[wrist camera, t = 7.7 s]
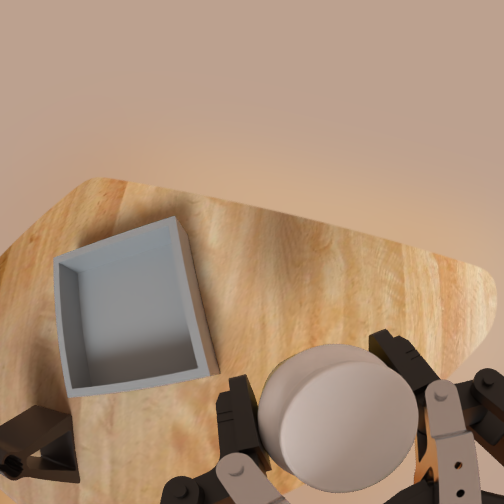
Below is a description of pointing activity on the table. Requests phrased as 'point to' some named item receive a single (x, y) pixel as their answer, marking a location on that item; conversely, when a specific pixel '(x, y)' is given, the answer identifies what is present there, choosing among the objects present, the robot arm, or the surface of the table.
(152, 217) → the table surface
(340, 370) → the supplement bottle
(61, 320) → the bin
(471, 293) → the table surface
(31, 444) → the phone stand
